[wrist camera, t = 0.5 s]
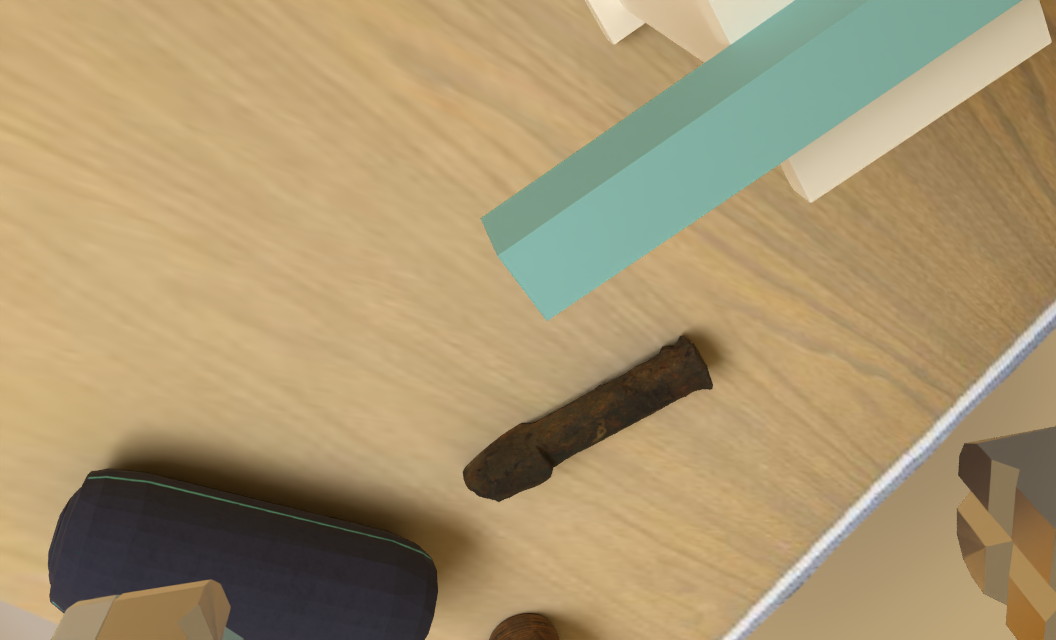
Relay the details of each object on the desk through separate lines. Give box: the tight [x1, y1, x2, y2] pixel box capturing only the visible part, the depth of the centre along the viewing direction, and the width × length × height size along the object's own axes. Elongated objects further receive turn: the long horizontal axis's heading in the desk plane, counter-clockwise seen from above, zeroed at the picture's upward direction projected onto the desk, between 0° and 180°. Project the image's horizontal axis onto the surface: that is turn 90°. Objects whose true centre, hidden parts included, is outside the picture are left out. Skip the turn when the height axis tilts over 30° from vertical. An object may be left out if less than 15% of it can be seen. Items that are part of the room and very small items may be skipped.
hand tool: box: [463, 336, 713, 502], centre depth 68 cm, size 19×4×5 cm, turn 113°
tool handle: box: [481, 0, 1022, 321], centre depth 31 cm, size 25×3×3 cm, turn 122°
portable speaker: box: [48, 469, 438, 640], centre depth 65 cm, size 25×10×10 cm, turn 62°
